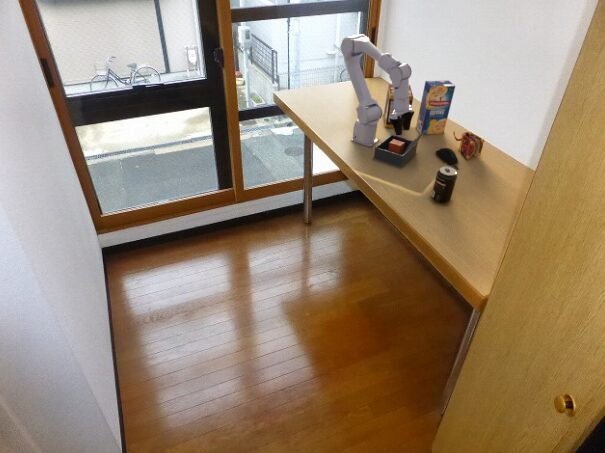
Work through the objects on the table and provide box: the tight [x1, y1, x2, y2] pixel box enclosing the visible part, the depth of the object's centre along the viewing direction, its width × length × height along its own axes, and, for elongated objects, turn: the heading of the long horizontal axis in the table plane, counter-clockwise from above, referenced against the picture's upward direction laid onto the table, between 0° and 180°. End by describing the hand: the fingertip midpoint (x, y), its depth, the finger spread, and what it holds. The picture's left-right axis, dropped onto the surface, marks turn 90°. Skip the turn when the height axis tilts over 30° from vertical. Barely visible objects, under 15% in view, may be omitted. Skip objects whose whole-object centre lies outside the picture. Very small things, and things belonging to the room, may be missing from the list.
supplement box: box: [383, 83, 414, 130], centre depth 200 cm, size 10×15×16 cm
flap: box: [403, 130, 426, 155], centre depth 169 cm, size 15×6×1 cm
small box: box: [388, 139, 405, 155], centre depth 175 cm, size 5×4×6 cm
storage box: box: [373, 134, 419, 168], centre depth 176 cm, size 15×12×6 cm
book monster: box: [452, 130, 485, 160], centre depth 178 cm, size 11×9×12 cm
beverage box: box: [415, 80, 456, 135], centre depth 191 cm, size 7×11×22 cm, turn 98°
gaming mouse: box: [435, 147, 459, 170], centre depth 175 cm, size 6×15×4 cm, turn 15°
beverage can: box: [430, 166, 458, 204], centre depth 149 cm, size 7×7×12 cm
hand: (402, 132), depth 170 cm, fingers open, 7 cm apart
